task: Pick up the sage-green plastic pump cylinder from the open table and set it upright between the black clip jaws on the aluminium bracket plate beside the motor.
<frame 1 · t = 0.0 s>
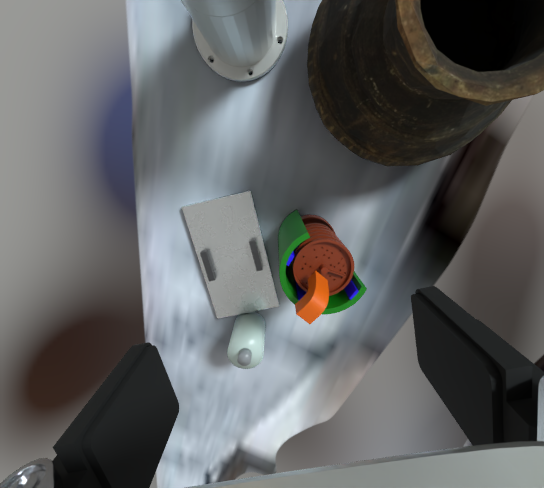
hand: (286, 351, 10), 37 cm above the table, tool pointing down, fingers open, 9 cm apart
pump: (250, 324, 52), on the table
motor: (307, 240, 48), on the table
ceramic pot: (390, 74, 41), on the table
clip bracket: (233, 257, 48), on the table
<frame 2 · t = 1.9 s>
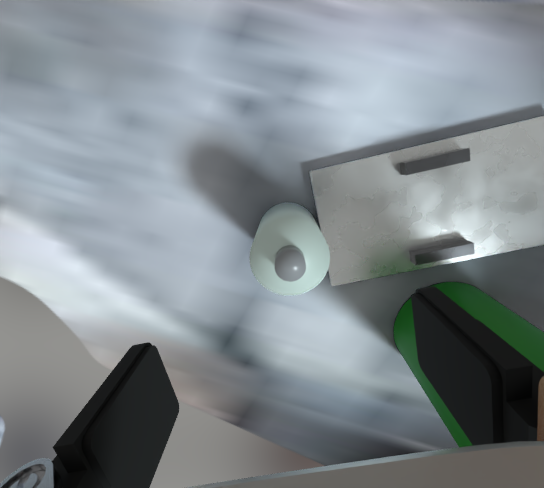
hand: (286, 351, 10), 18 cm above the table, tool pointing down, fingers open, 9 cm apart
pump: (287, 231, 28), on the table
motor: (437, 323, 30), on the table
clip bracket: (428, 206, 26), on the table
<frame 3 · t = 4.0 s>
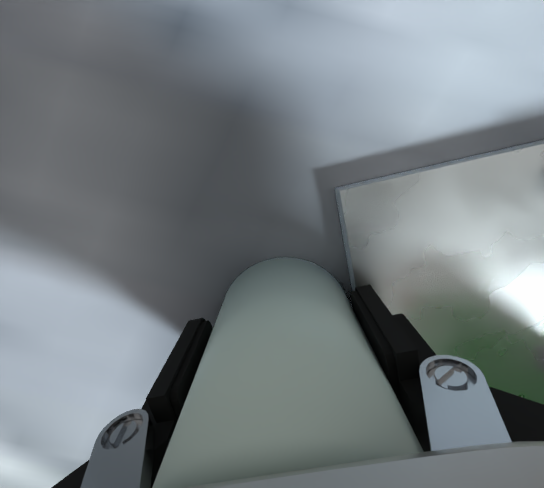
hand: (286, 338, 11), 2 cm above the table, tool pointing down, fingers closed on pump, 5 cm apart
pump: (285, 317, 13), on the table, touching gripper
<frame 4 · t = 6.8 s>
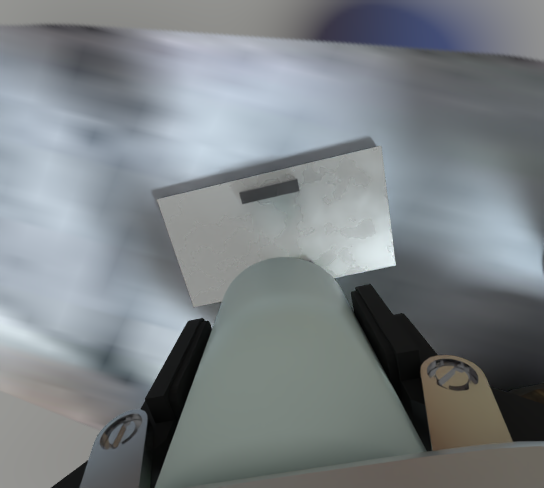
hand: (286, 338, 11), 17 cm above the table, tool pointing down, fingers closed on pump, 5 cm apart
pump: (283, 317, 13), point 16 cm above the table, touching gripper
ceramic pot: (507, 421, 34), on the table
clip bracket: (279, 230, 28), on the table
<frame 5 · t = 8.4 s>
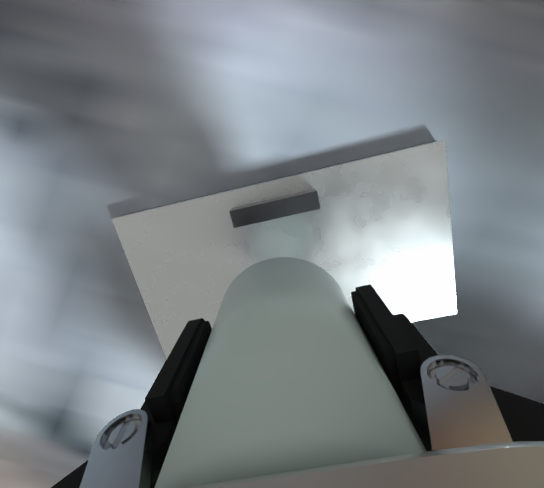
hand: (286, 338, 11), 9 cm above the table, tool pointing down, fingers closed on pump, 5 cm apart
pump: (283, 317, 13), point 7 cm above the table, touching gripper
clip bracket: (288, 262, 19), on the table
when the fingers open (4 cm above the table, at t = 9.8 s): pump drops 1 cm, resting on clip bracket.
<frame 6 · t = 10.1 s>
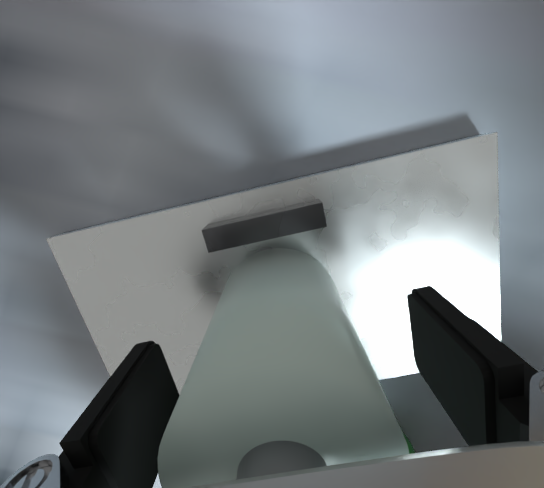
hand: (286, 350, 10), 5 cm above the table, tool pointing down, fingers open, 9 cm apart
pump: (280, 302, 14), point 1 cm above the table, touching clip bracket
motor: (326, 465, 19), on the table
clip bracket: (284, 292, 15), on the table
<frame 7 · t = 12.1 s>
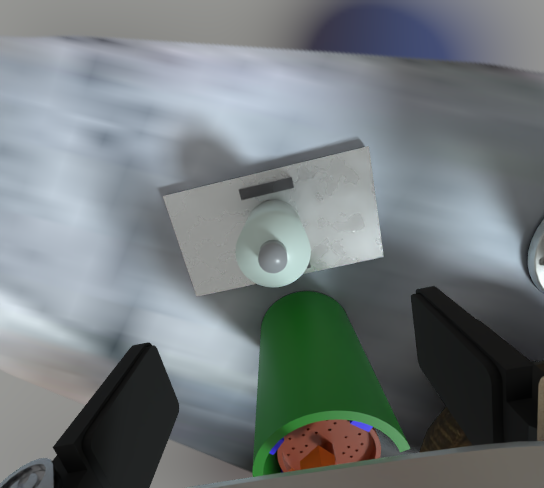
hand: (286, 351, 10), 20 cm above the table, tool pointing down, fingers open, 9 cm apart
pump: (273, 227, 29), point 1 cm above the table, touching clip bracket
motor: (300, 328, 33), on the table
ceramic pot: (491, 405, 36), on the table
clip bracket: (276, 225, 30), on the table
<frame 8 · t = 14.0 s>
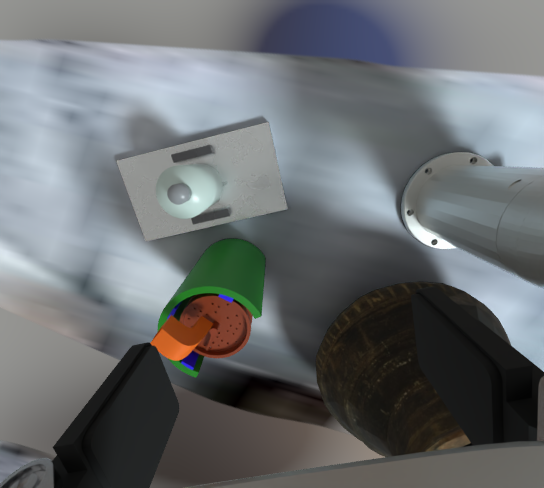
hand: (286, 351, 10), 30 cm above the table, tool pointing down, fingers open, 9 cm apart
pump: (201, 185, 38), point 1 cm above the table, touching clip bracket
motor: (230, 269, 42), on the table
ceramic pot: (388, 336, 45), on the table
clip bracket: (205, 184, 39), on the table
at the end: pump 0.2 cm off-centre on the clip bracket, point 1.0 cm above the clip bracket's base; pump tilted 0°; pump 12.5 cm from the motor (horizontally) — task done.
